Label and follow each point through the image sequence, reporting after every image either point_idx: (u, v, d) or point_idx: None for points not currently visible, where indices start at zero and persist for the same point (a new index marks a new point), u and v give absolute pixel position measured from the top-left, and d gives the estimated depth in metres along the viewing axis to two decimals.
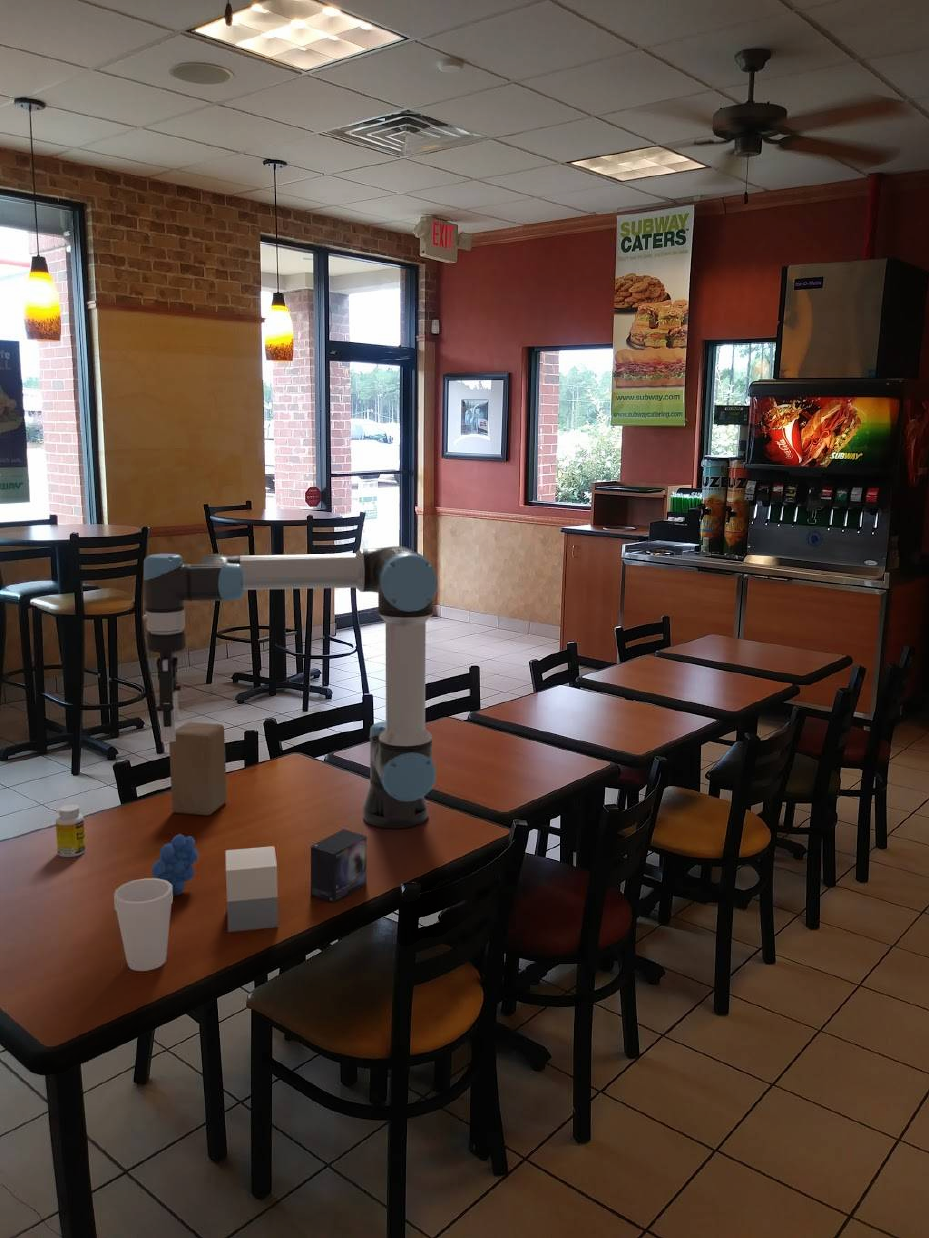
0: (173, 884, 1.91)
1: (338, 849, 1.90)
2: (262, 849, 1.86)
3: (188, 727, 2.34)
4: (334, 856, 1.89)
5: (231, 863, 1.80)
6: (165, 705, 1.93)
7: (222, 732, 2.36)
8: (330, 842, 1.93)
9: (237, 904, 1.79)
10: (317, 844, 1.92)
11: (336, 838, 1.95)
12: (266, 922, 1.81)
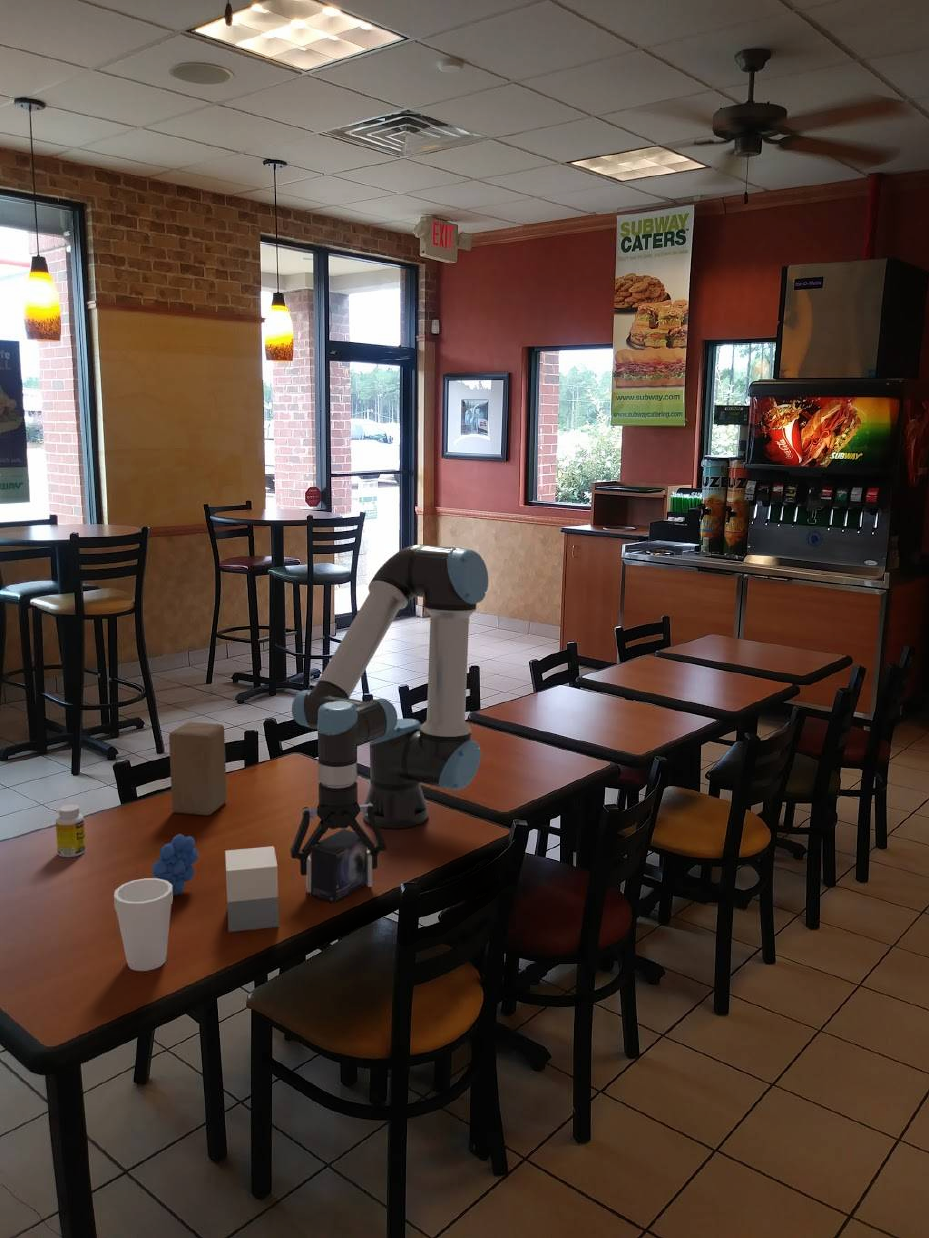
0: (173, 884, 1.91)
1: (339, 849, 1.90)
2: (262, 849, 1.86)
3: (188, 727, 2.34)
4: (335, 855, 1.89)
5: (231, 863, 1.80)
6: (292, 851, 1.93)
7: (222, 732, 2.36)
8: (331, 842, 1.93)
9: (237, 904, 1.79)
10: (317, 844, 1.92)
11: (337, 837, 1.95)
12: (267, 922, 1.81)
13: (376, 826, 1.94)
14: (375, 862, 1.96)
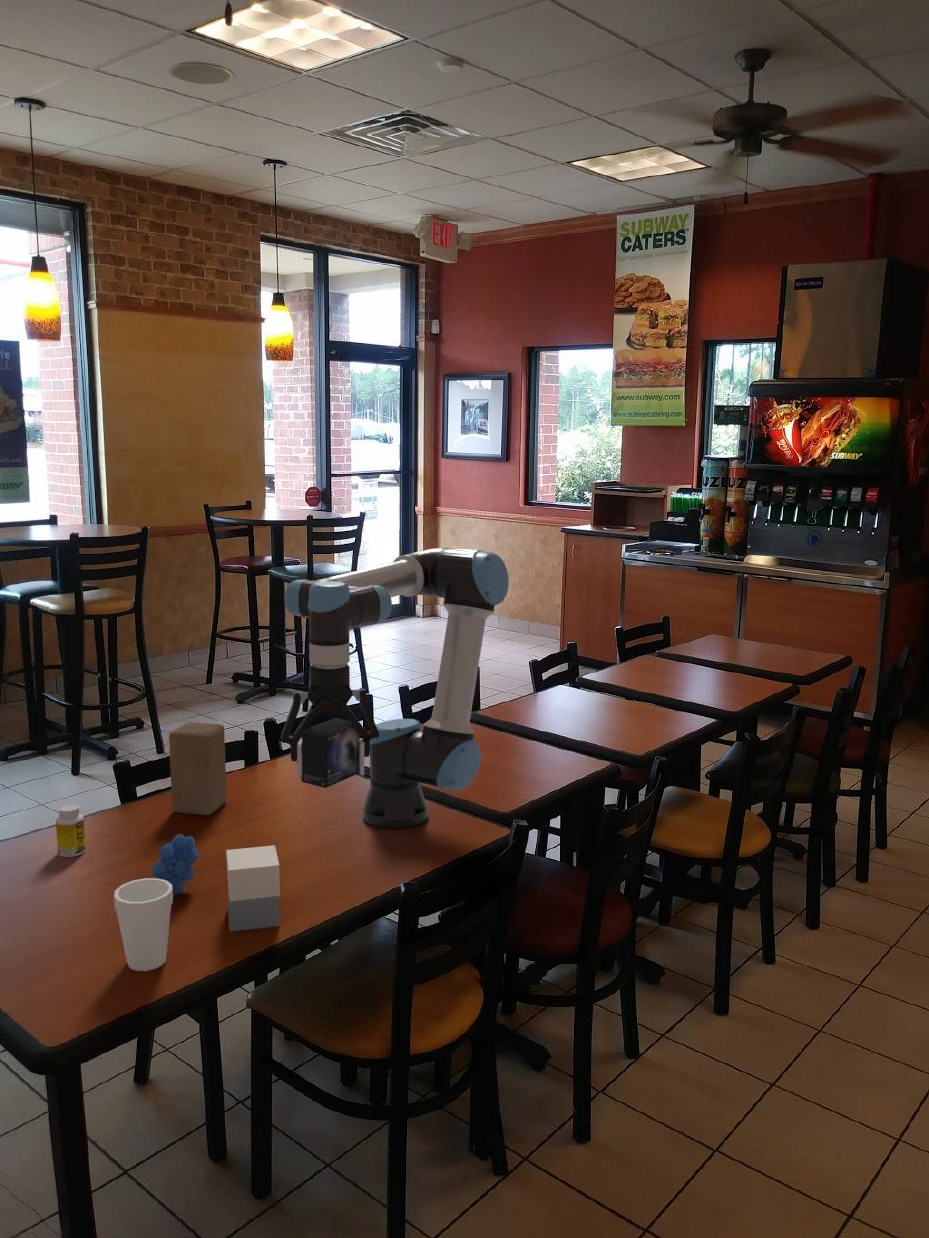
0: (173, 884, 1.91)
1: (330, 732, 1.85)
2: (263, 848, 1.87)
3: (188, 727, 2.34)
4: (326, 738, 1.83)
5: (233, 862, 1.80)
6: (282, 736, 1.87)
7: (222, 732, 2.36)
8: (322, 727, 1.88)
9: (238, 904, 1.79)
10: (308, 729, 1.87)
11: (328, 724, 1.90)
12: (267, 921, 1.81)
13: (369, 711, 1.89)
14: (367, 750, 1.91)
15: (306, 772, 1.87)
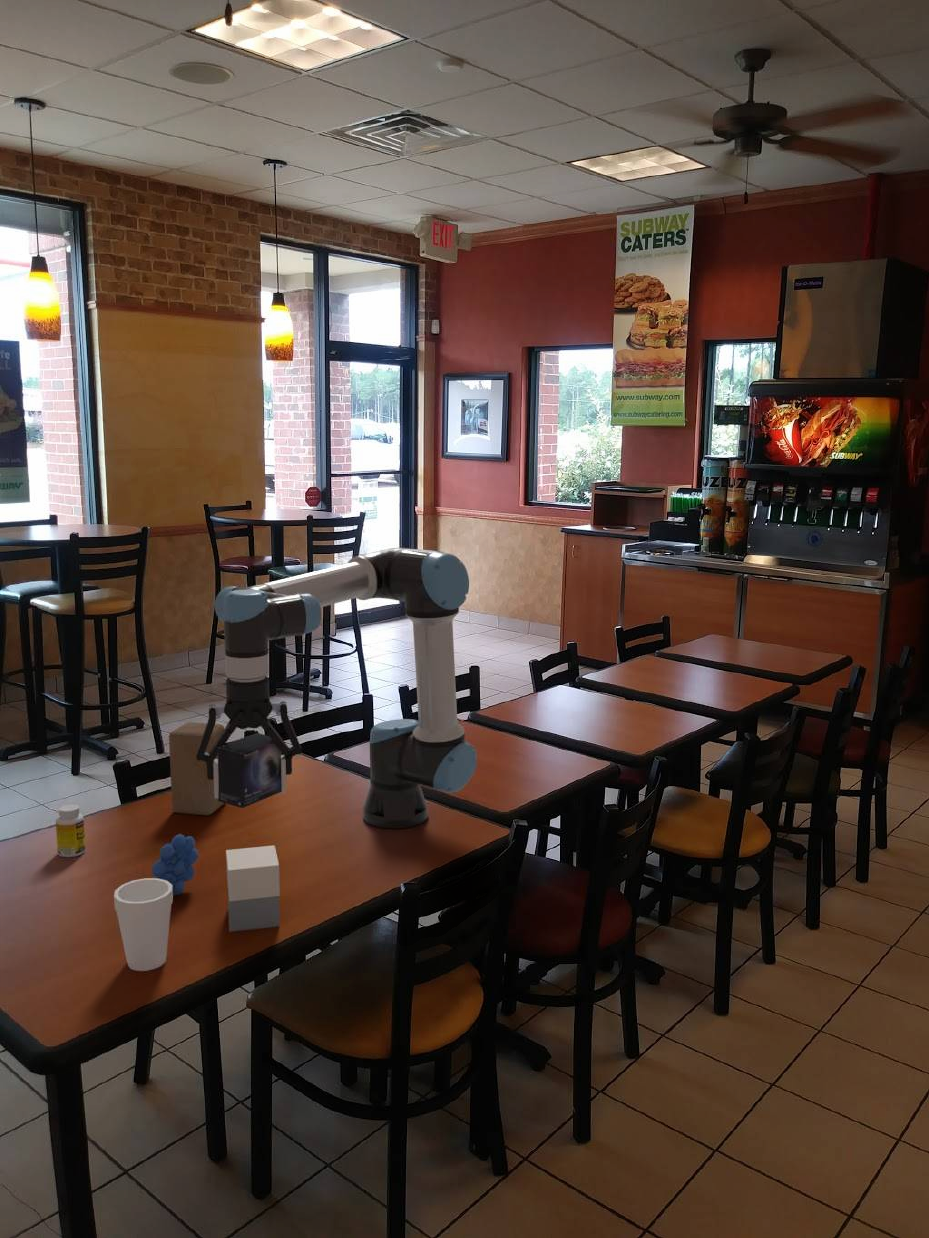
0: (173, 884, 1.91)
1: (247, 749, 1.75)
2: (263, 848, 1.87)
3: (188, 727, 2.34)
4: (242, 756, 1.73)
5: (233, 862, 1.80)
6: None
7: None
8: (240, 743, 1.78)
9: (238, 904, 1.79)
10: (225, 745, 1.76)
11: (247, 740, 1.79)
12: (268, 921, 1.81)
13: (290, 727, 1.79)
14: (289, 767, 1.80)
15: (223, 791, 1.77)
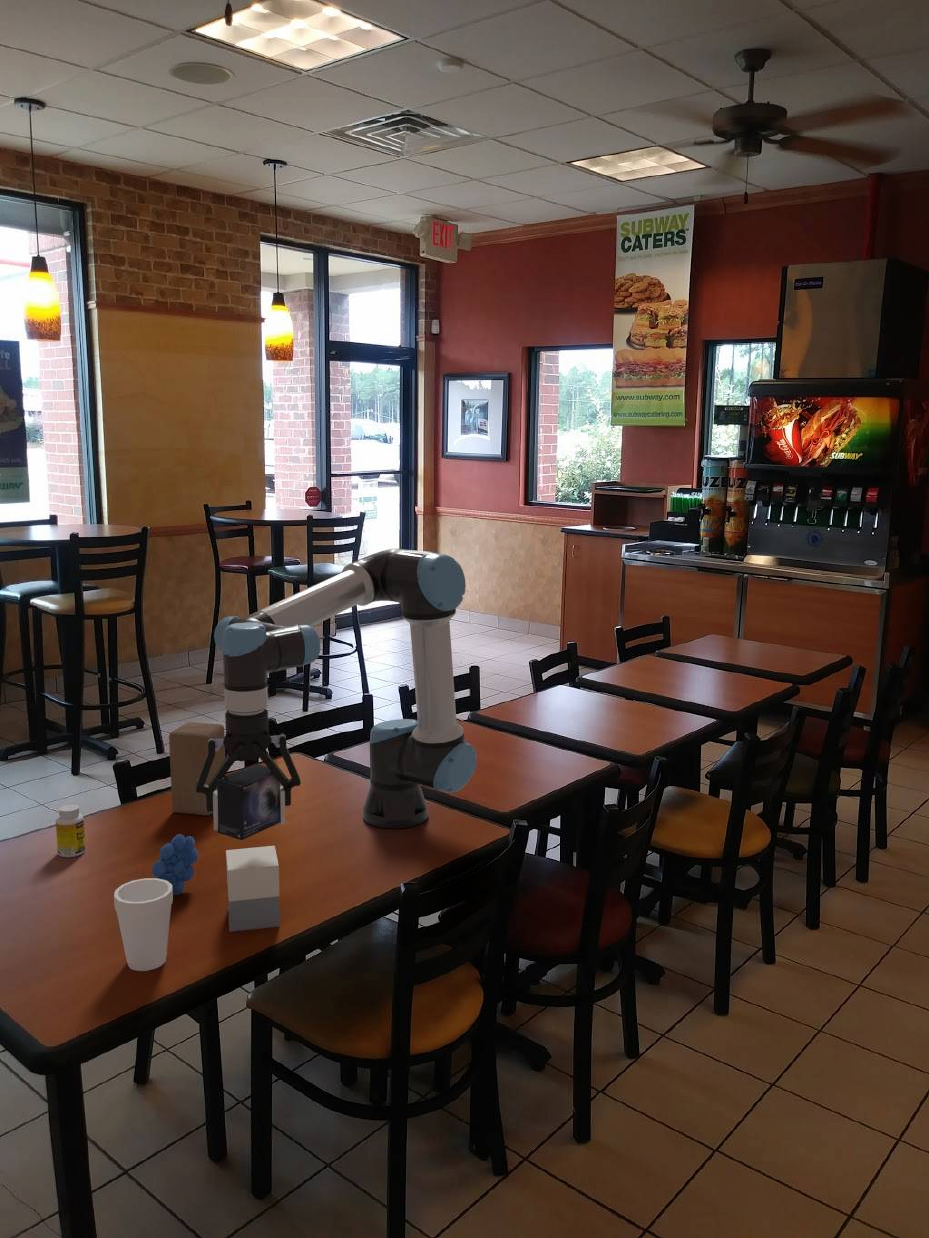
0: (173, 884, 1.91)
1: (246, 782, 1.76)
2: (263, 848, 1.87)
3: (188, 727, 2.34)
4: (241, 788, 1.74)
5: (233, 863, 1.80)
6: (197, 785, 1.78)
7: (222, 732, 2.36)
8: (239, 775, 1.78)
9: (238, 904, 1.79)
10: (224, 777, 1.77)
11: (247, 771, 1.80)
12: (268, 921, 1.81)
13: (289, 759, 1.79)
14: (288, 798, 1.81)
15: (222, 823, 1.77)
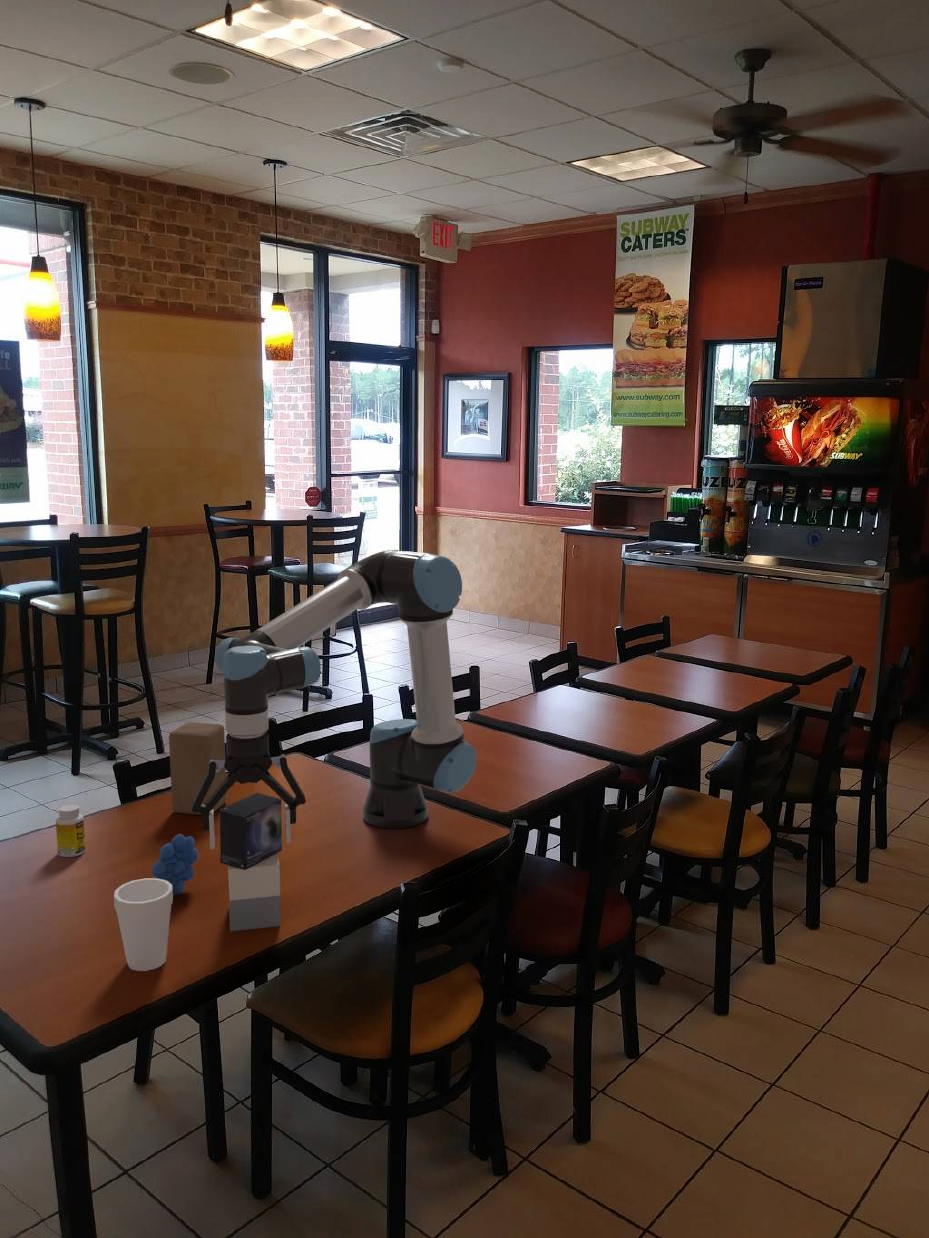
0: (173, 884, 1.91)
1: (249, 812, 1.77)
2: None
3: (188, 727, 2.34)
4: (245, 819, 1.75)
5: None
6: (193, 804, 1.78)
7: (222, 732, 2.36)
8: (241, 805, 1.80)
9: (238, 903, 1.79)
10: (227, 807, 1.79)
11: (248, 801, 1.82)
12: (268, 921, 1.81)
13: (291, 778, 1.80)
14: (294, 816, 1.82)
15: (225, 853, 1.79)
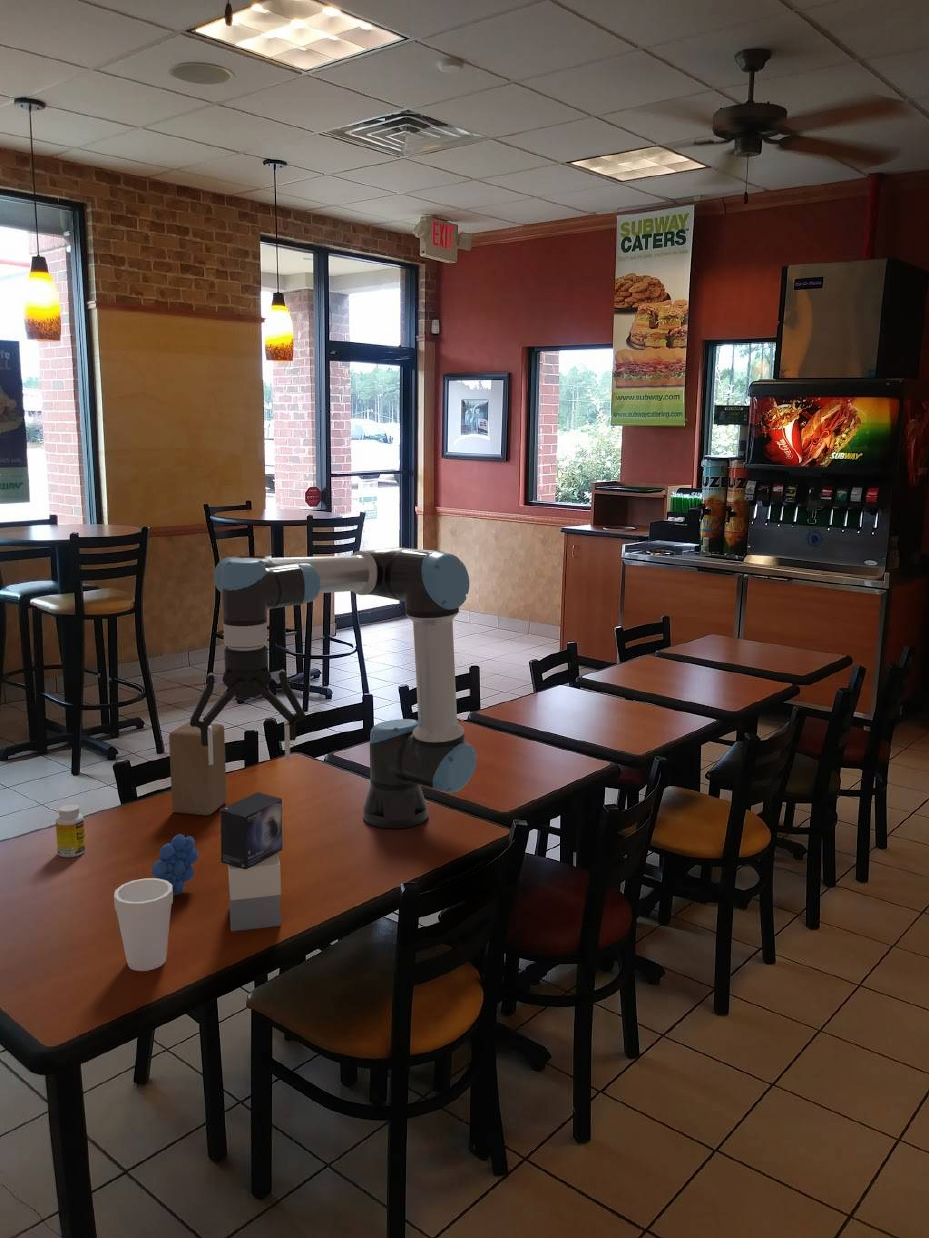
0: (173, 884, 1.91)
1: (250, 812, 1.77)
2: None
3: (188, 727, 2.34)
4: (246, 819, 1.75)
5: None
6: (191, 719, 1.76)
7: (222, 732, 2.36)
8: (242, 805, 1.80)
9: (239, 903, 1.79)
10: (227, 807, 1.79)
11: (249, 801, 1.82)
12: (269, 920, 1.81)
13: (291, 693, 1.78)
14: (293, 733, 1.80)
15: (225, 852, 1.79)
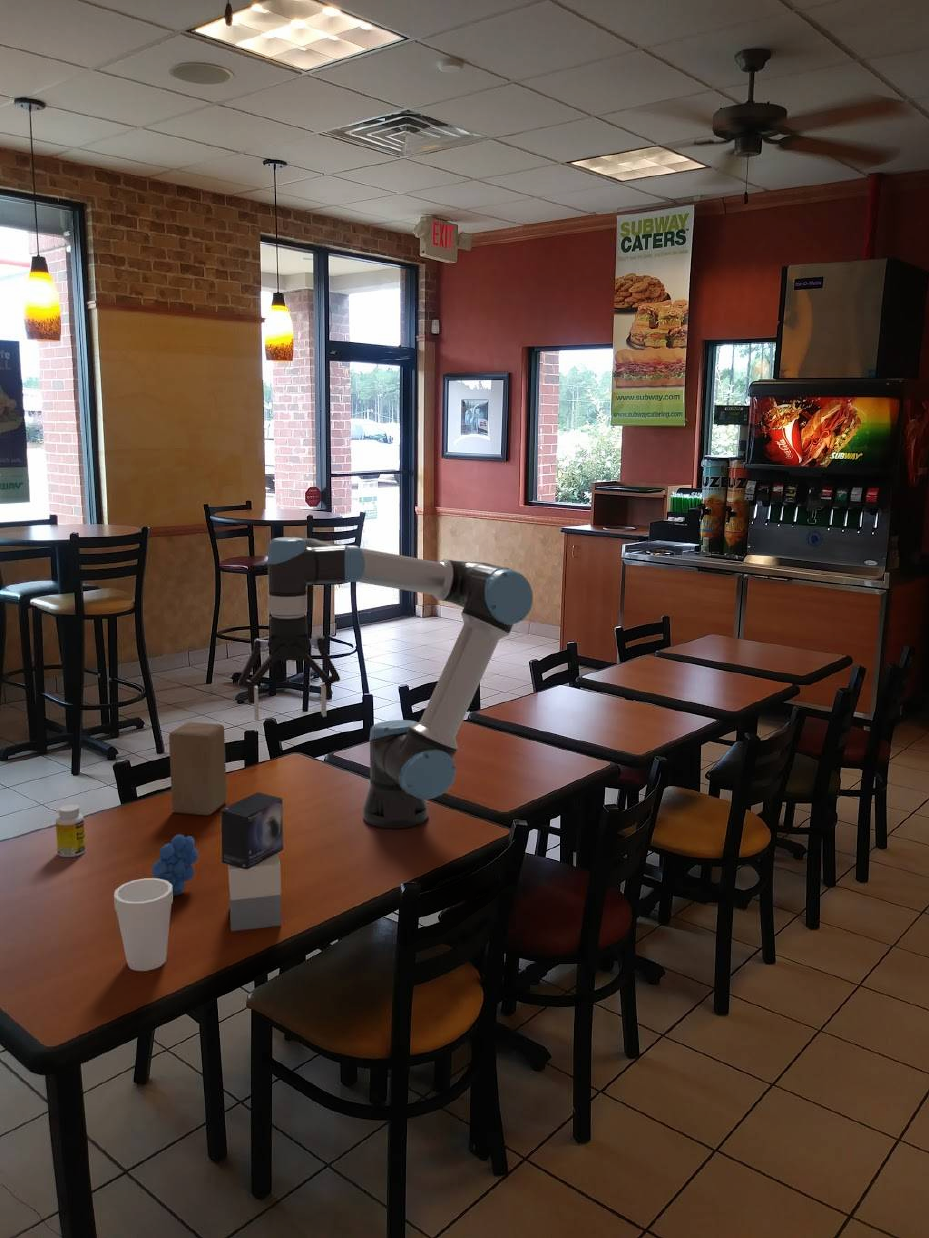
0: (173, 884, 1.91)
1: (251, 812, 1.77)
2: None
3: (188, 727, 2.34)
4: (246, 819, 1.76)
5: None
6: (239, 679, 1.99)
7: (222, 732, 2.36)
8: (243, 805, 1.80)
9: (239, 903, 1.79)
10: (228, 807, 1.79)
11: (249, 801, 1.82)
12: (269, 920, 1.81)
13: (327, 657, 2.01)
14: (329, 693, 2.03)
15: (226, 853, 1.79)
